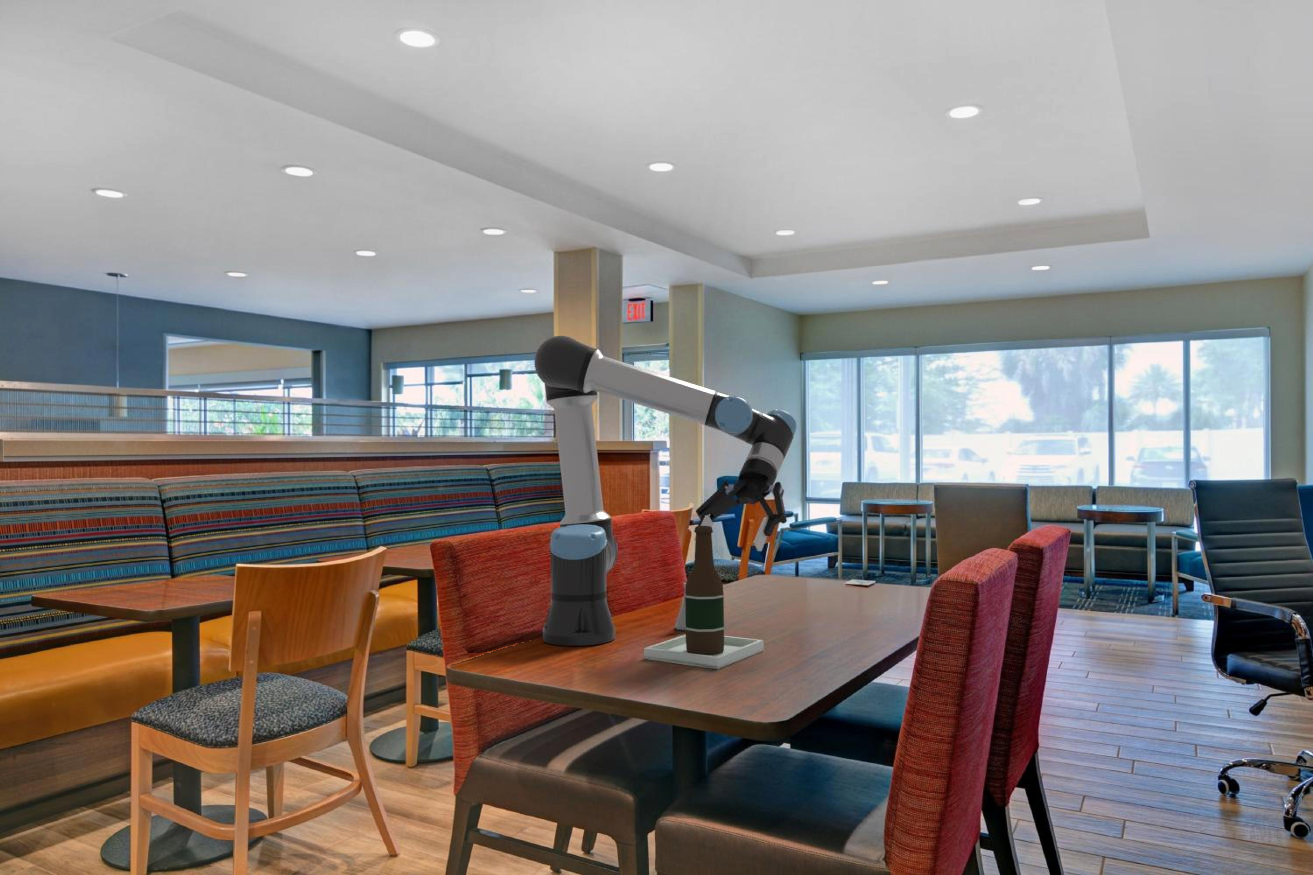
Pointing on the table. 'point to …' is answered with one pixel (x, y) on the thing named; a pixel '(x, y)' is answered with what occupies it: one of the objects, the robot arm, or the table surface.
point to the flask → (681, 616)
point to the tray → (678, 654)
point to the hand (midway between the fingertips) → (727, 545)
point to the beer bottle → (704, 600)
